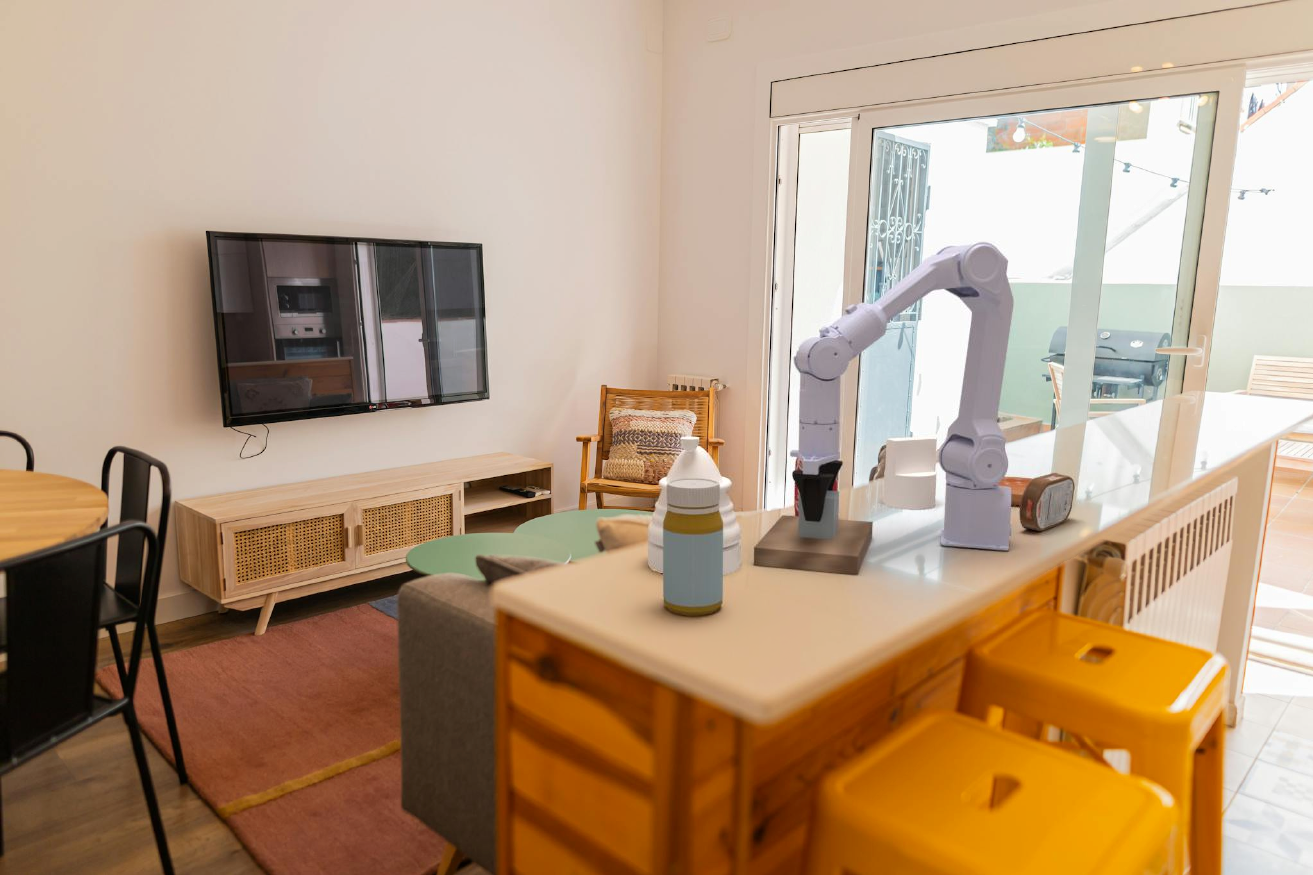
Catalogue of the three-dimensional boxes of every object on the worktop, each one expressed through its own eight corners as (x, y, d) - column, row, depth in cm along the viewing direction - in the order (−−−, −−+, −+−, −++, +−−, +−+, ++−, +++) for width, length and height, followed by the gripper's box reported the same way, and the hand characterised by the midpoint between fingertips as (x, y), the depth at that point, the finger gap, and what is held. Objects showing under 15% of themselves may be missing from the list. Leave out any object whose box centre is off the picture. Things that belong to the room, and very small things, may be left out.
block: (838, 531, 128) (839, 491, 127) (833, 539, 123) (834, 498, 123) (804, 528, 130) (804, 489, 129) (798, 536, 125) (798, 495, 124)
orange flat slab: (1084, 502, 159) (1085, 486, 159) (1033, 514, 150) (1034, 497, 150) (1006, 488, 172) (1007, 473, 172) (955, 498, 163) (955, 482, 163)
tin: (1056, 517, 147) (1059, 468, 145) (1075, 521, 144) (1079, 471, 143) (1015, 533, 137) (1019, 480, 135) (1035, 537, 134) (1039, 483, 133)
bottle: (660, 598, 106) (660, 477, 104) (717, 596, 107) (718, 476, 105) (666, 618, 99) (666, 489, 97) (726, 616, 100) (727, 488, 98)
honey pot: (726, 582, 112) (727, 445, 110) (633, 572, 117) (632, 440, 114) (750, 556, 124) (752, 431, 122) (666, 548, 129) (665, 427, 126)
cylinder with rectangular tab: (915, 497, 163) (918, 434, 161) (945, 507, 154) (948, 440, 152) (873, 500, 160) (875, 436, 158) (902, 511, 151) (904, 443, 150)
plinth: (872, 537, 134) (872, 521, 134) (857, 574, 115) (857, 556, 115) (782, 530, 139) (782, 515, 138) (753, 565, 120) (754, 547, 120)
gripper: (800, 415, 132) (798, 502, 134) (781, 427, 119) (780, 524, 121) (847, 416, 130) (845, 505, 132) (833, 429, 116) (831, 528, 118)
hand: (817, 514), depth 126 cm, fingers open, 7 cm apart
